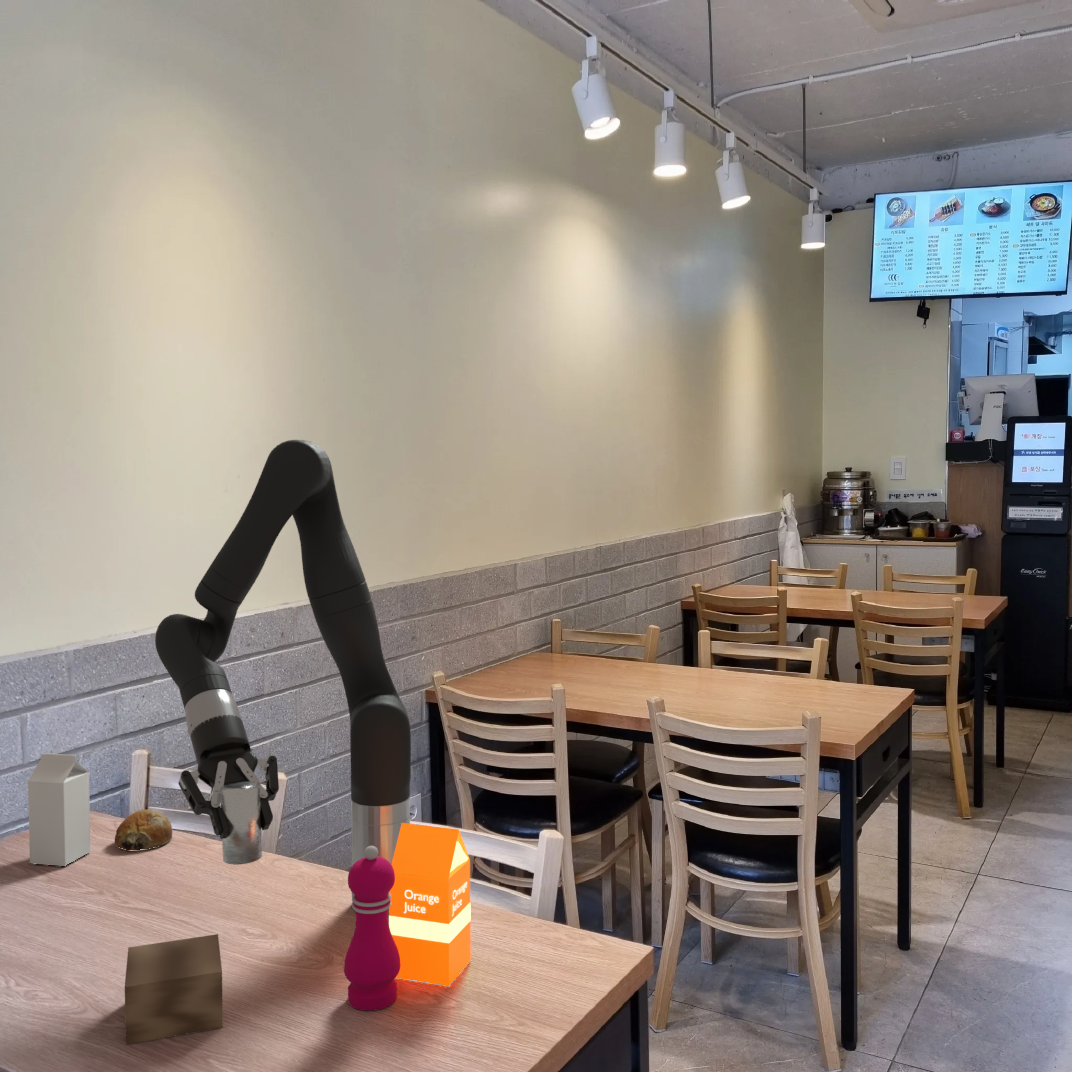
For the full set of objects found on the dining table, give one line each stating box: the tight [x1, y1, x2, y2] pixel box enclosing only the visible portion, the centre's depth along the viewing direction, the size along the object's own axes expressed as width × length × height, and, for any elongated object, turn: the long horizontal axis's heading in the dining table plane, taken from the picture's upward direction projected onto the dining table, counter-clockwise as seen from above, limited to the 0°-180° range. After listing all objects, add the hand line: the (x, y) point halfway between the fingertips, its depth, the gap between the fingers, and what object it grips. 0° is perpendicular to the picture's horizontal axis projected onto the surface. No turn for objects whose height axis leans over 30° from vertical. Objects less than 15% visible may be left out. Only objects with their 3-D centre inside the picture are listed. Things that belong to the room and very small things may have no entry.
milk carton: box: [27, 753, 91, 867], centre depth 178 cm, size 7×7×19 cm
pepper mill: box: [343, 846, 401, 1012], centre depth 128 cm, size 7×7×20 cm
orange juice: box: [388, 823, 472, 986], centre depth 136 cm, size 8×9×20 cm
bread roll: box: [114, 809, 173, 850], centre depth 187 cm, size 10×10×8 cm
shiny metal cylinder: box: [220, 781, 263, 866], centre depth 138 cm, size 5×5×10 cm
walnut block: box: [124, 933, 224, 1045], centre depth 125 cm, size 11×11×7 cm
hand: (246, 830), depth 136 cm, fingers closed on shiny metal cylinder, 5 cm apart
